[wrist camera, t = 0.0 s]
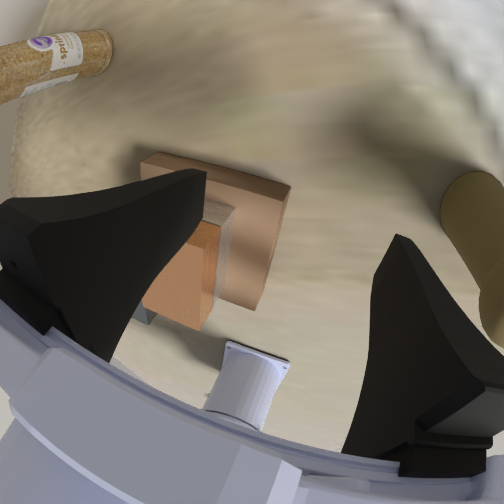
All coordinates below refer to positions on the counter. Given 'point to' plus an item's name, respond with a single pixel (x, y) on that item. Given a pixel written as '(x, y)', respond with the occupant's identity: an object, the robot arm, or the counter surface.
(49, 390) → the robot arm
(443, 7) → the counter surface
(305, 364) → the counter surface
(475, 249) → the olive tapered column
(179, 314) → the block
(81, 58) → the sprinkles bottle
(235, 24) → the counter surface
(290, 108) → the counter surface
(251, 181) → the stand
